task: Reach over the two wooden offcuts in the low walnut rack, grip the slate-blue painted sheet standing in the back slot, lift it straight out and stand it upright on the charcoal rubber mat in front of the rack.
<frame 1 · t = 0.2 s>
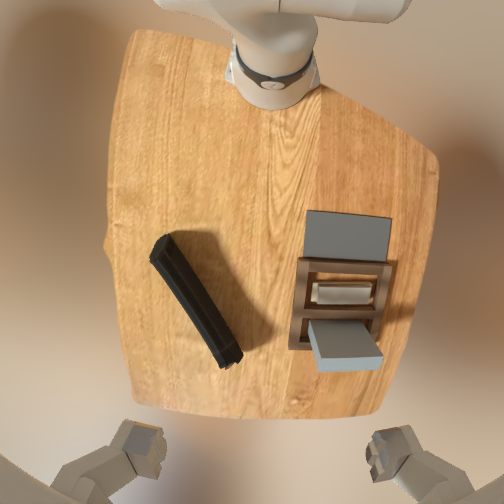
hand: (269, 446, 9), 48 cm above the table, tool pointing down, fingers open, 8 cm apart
rack: (339, 301, 58), on the table
sheet: (334, 325, 59), on the table
offcut upper: (342, 292, 56), point 1 cm above the table, touching offcut lower
offcut lower: (340, 289, 58), on the table, touching offcut upper
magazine: (203, 297, 59), on the table
mat: (348, 236, 54), on the table
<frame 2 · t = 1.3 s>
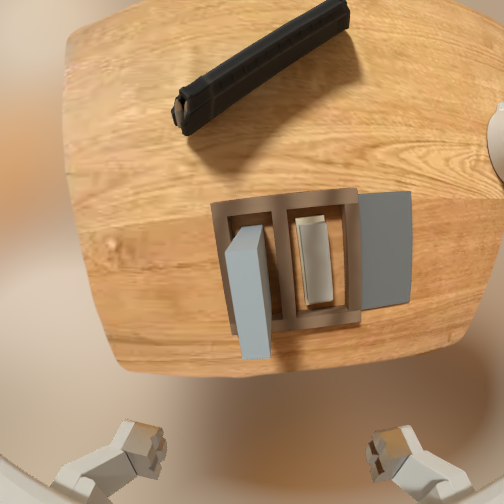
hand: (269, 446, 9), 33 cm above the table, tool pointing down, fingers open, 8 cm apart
rack: (297, 261, 41), on the table
sheet: (257, 265, 42), on the table
offcut upper: (315, 260, 39), point 1 cm above the table, touching offcut lower
offcut lower: (313, 258, 41), on the table, touching offcut upper
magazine: (266, 70, 35), on the table
mat: (386, 251, 40), on the table
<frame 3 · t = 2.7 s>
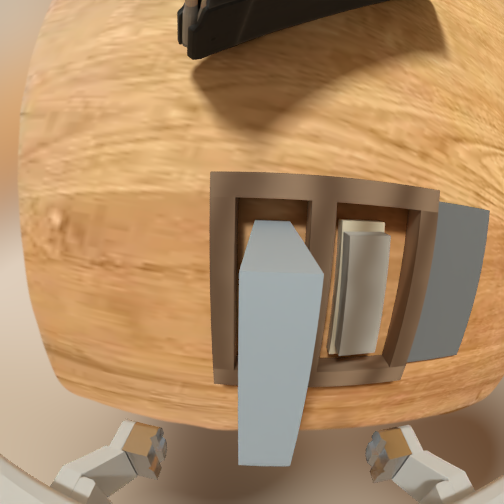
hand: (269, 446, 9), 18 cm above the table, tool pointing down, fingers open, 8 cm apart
rack: (333, 287, 26), on the table
sheet: (269, 285, 26), on the table
offcut upper: (358, 291, 24), point 1 cm above the table, touching offcut lower
offcut lower: (351, 285, 26), on the table, touching offcut upper
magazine: (326, 5, 19), on the table
mat: (448, 287, 25), on the table
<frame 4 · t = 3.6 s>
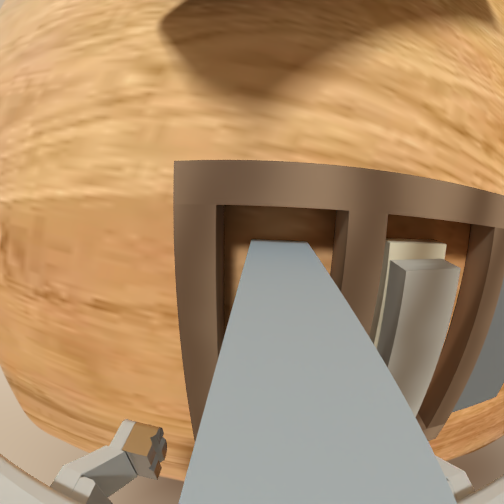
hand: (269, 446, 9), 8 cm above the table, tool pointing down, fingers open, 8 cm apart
rack: (366, 337, 16), on the table
sheet: (273, 337, 17), on the table
offcut upper: (402, 345, 15), point 1 cm above the table
offcut lower: (389, 331, 17), on the table
mat: (502, 322, 16), on the table
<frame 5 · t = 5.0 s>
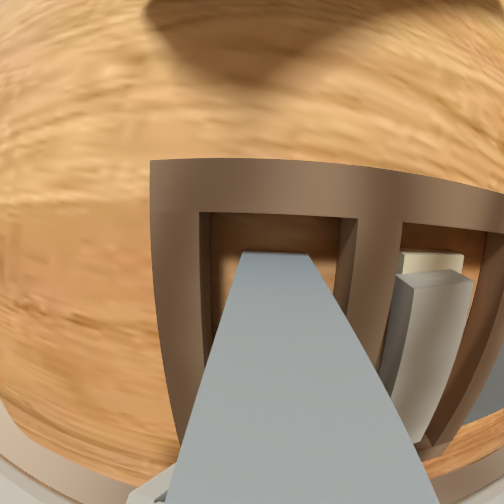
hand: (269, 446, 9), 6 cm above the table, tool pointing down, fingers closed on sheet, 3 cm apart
rack: (372, 357, 14), on the table
sheet: (268, 359, 14), on the table, touching gripper
offcut upper: (407, 365, 13), point 1 cm above the table, touching offcut lower
offcut lower: (398, 349, 15), on the table, touching offcut upper
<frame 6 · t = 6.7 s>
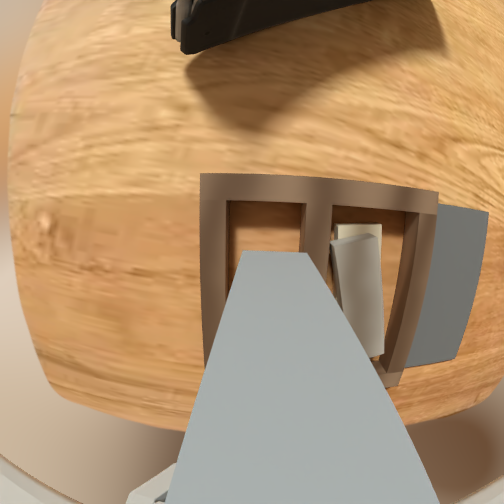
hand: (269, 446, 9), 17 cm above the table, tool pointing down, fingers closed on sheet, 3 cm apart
rack: (328, 292, 25), on the table
sheet: (268, 359, 15), point 11 cm above the table, touching gripper
offcut upper: (356, 297, 23), point 1 cm above the table, touching offcut lower
offcut lower: (350, 290, 25), on the table, touching offcut upper
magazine: (324, 1, 18), on the table
mat: (446, 290, 24), on the table
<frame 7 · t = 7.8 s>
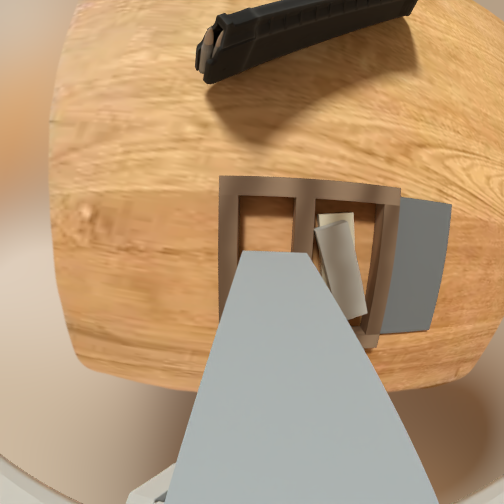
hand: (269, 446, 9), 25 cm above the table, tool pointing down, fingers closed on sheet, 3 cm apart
rack: (315, 266, 33), on the table
sheet: (268, 359, 14), point 19 cm above the table, touching gripper
offcut upper: (339, 269, 31), point 1 cm above the table
offcut lower: (334, 265, 33), on the table
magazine: (315, 34, 26), on the table
mat: (415, 268, 32), on the table
when the fingers open (8 cm above the table, at t = 13.4 s): sheet stays where it is, resting on mat.
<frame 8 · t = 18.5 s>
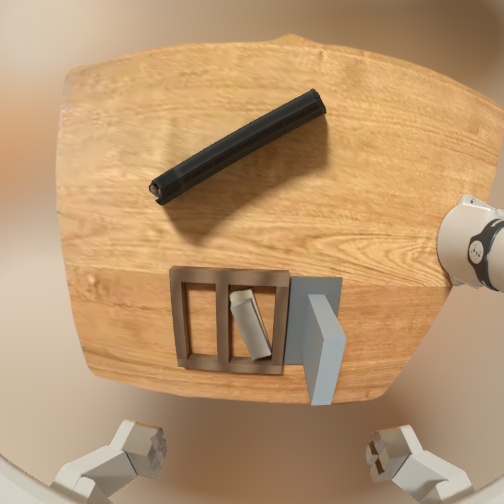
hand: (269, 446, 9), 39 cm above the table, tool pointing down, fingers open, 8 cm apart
rack: (235, 321, 50), on the table
sheet: (312, 324, 49), point 1 cm above the table, touching mat
offcut upper: (251, 327, 49), point 1 cm above the table, touching offcut lower
offcut lower: (251, 320, 51), on the table, touching offcut upper, rack
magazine: (240, 148, 44), on the table
mat: (311, 323, 50), on the table
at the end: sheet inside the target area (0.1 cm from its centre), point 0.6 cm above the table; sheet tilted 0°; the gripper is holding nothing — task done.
